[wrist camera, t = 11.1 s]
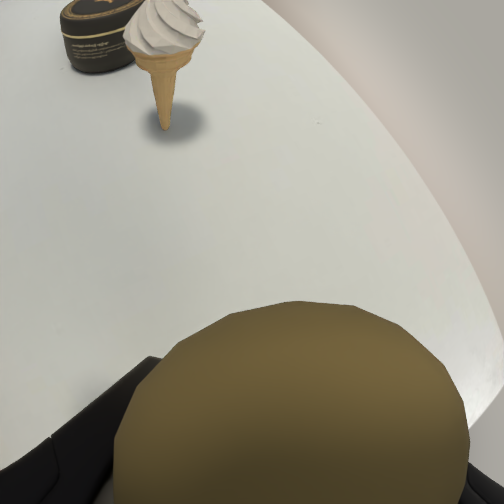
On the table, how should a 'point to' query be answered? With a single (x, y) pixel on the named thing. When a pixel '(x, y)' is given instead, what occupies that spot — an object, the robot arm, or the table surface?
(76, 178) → the table surface
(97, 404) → the robot arm
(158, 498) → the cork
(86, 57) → the jar
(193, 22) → the ice cream cone
